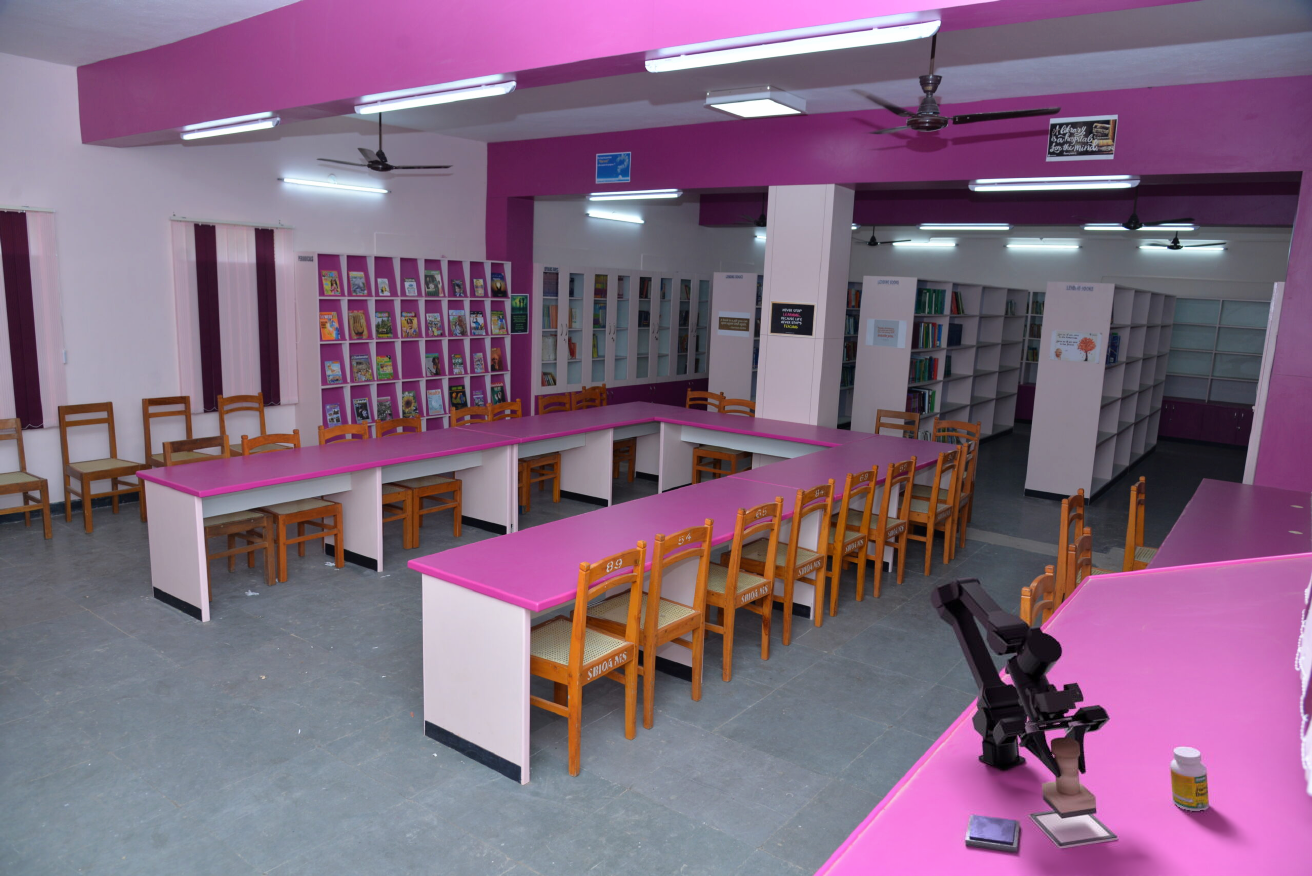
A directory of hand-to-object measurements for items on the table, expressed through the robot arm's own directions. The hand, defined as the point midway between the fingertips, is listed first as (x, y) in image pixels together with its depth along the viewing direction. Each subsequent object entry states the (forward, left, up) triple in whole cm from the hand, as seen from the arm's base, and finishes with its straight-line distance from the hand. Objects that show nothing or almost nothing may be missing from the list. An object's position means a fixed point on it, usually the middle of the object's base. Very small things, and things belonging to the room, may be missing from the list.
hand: (1071, 775), depth 140 cm
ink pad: (+11, -7, -10) cm, 17 cm away
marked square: (0, -1, -10) cm, 10 cm away
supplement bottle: (-22, +6, -10) cm, 25 cm away
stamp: (-1, -2, -6) cm, 7 cm away
